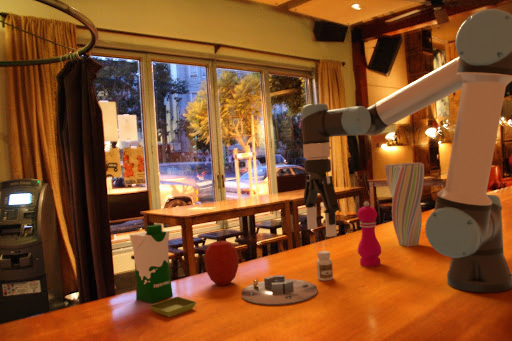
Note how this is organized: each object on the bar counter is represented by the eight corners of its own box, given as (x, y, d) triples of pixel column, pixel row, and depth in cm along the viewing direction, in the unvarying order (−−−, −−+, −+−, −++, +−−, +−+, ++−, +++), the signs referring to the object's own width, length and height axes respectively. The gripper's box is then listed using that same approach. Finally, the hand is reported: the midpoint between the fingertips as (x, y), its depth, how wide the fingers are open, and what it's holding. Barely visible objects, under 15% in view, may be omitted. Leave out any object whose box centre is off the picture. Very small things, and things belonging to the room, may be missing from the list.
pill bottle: (321, 281, 128) (319, 254, 127) (315, 278, 132) (313, 251, 132) (335, 279, 129) (333, 252, 129) (329, 276, 133) (327, 249, 133)
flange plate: (329, 297, 113) (328, 283, 113) (252, 310, 108) (251, 295, 108) (300, 278, 133) (300, 266, 133) (234, 288, 127) (233, 275, 127)
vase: (436, 245, 163) (431, 162, 162) (406, 250, 158) (401, 165, 157) (410, 239, 176) (406, 162, 175) (382, 244, 171) (377, 165, 170)
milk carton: (151, 305, 117) (145, 228, 117) (131, 300, 123) (125, 227, 122) (177, 295, 124) (172, 223, 123) (156, 291, 130) (151, 222, 129)
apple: (246, 284, 131) (243, 236, 130) (214, 291, 126) (211, 241, 125) (231, 277, 140) (227, 232, 139) (200, 283, 135) (197, 237, 134)
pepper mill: (383, 266, 139) (379, 202, 138) (359, 267, 140) (354, 203, 140) (381, 261, 146) (377, 199, 145) (358, 261, 147) (354, 200, 147)
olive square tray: (148, 313, 112) (148, 305, 112) (178, 303, 118) (177, 296, 118) (168, 321, 106) (167, 312, 106) (198, 310, 112) (197, 302, 112)
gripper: (349, 157, 118) (353, 238, 119) (312, 158, 142) (316, 225, 143) (322, 159, 116) (327, 241, 117) (290, 159, 140) (294, 227, 141)
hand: (321, 232), depth 130 cm, fingers open, 13 cm apart
